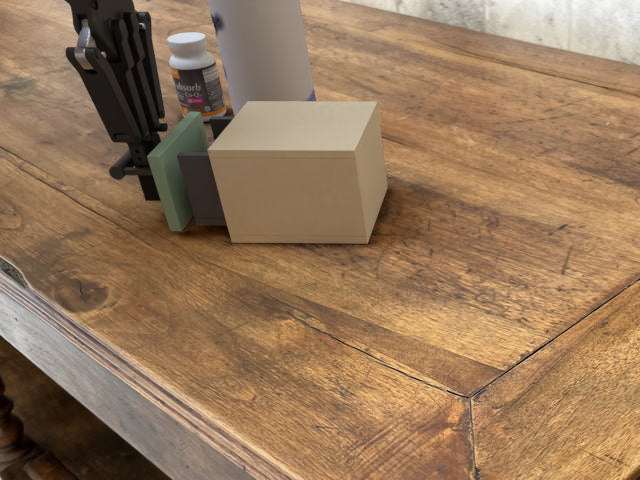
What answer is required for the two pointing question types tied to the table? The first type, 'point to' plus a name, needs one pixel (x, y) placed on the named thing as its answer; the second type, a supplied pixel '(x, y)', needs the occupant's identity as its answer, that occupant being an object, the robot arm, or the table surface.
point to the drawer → (183, 172)
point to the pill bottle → (195, 75)
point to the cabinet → (301, 172)
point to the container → (263, 50)
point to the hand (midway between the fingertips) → (161, 197)
